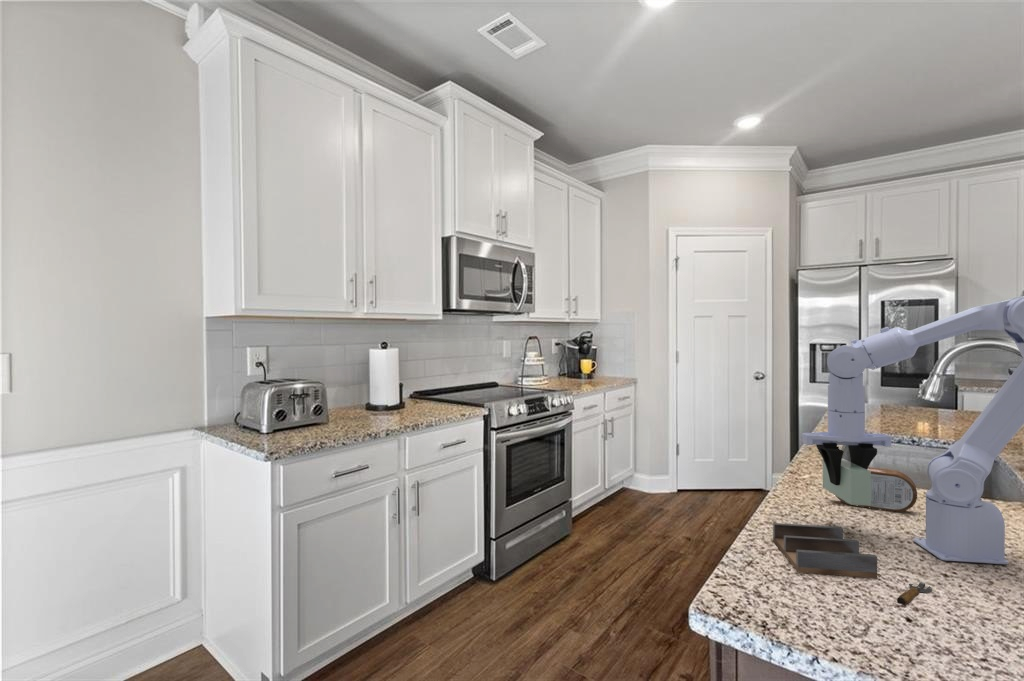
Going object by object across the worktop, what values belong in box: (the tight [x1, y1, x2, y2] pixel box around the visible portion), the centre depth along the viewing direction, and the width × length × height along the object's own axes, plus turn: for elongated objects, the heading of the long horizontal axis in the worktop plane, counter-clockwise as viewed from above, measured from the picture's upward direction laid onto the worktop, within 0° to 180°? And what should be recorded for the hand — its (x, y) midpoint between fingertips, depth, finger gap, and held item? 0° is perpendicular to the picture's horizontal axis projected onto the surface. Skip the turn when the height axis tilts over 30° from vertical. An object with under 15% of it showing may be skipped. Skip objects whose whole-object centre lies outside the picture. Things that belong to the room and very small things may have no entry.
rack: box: [772, 522, 878, 579], centre depth 83 cm, size 11×12×3 cm
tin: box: [835, 466, 918, 513], centre depth 107 cm, size 15×3×8 cm, turn 58°
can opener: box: [896, 581, 933, 606], centre depth 72 cm, size 9×2×1 cm, turn 118°
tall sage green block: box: [822, 457, 871, 506], centre depth 93 cm, size 3×10×6 cm, turn 174°
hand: (845, 484), depth 93 cm, fingers closed on tall sage green block, 3 cm apart
